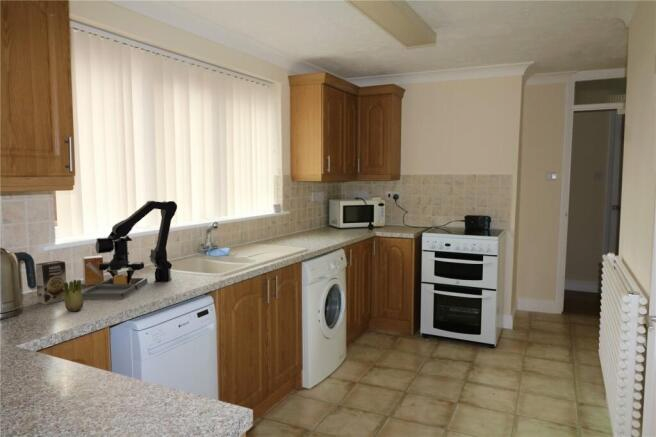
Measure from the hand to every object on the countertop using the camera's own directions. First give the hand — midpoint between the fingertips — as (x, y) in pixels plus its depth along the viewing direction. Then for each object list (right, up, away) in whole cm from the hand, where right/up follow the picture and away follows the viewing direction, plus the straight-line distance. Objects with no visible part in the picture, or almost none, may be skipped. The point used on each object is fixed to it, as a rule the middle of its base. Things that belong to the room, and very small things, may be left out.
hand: (122, 284), depth 219 cm
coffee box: (-18, -4, -24) cm, 31 cm away
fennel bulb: (-2, -5, -38) cm, 38 cm away
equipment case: (0, -1, 0) cm, 1 cm away
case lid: (0, -3, -15) cm, 15 cm away
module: (0, -1, 0) cm, 1 cm away
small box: (-16, -1, +6) cm, 17 cm away
